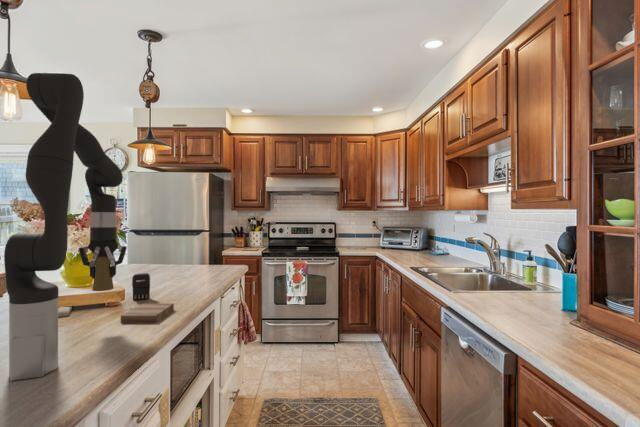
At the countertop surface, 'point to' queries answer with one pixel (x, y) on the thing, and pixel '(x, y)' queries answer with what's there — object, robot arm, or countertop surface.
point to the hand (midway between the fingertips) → (103, 277)
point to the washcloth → (64, 311)
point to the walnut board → (147, 313)
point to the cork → (102, 275)
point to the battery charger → (141, 286)
